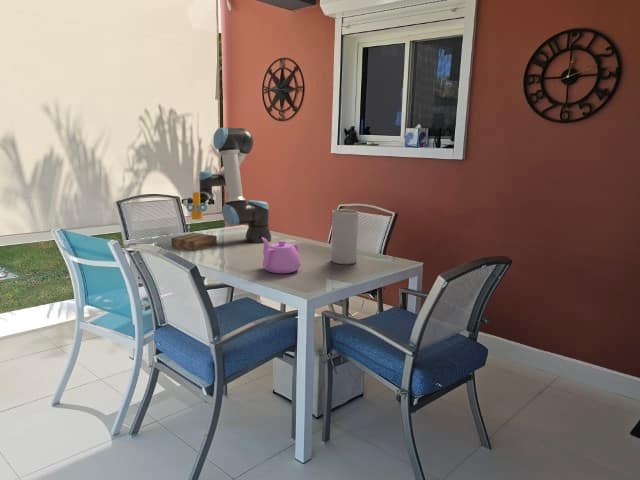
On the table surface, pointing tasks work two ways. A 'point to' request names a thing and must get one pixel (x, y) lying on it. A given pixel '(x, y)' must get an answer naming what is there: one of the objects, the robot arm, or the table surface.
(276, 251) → the teapot
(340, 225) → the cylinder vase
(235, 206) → the robot arm
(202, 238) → the walnut block
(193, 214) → the orange blue tall piece
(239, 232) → the table surface
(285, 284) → the table surface
